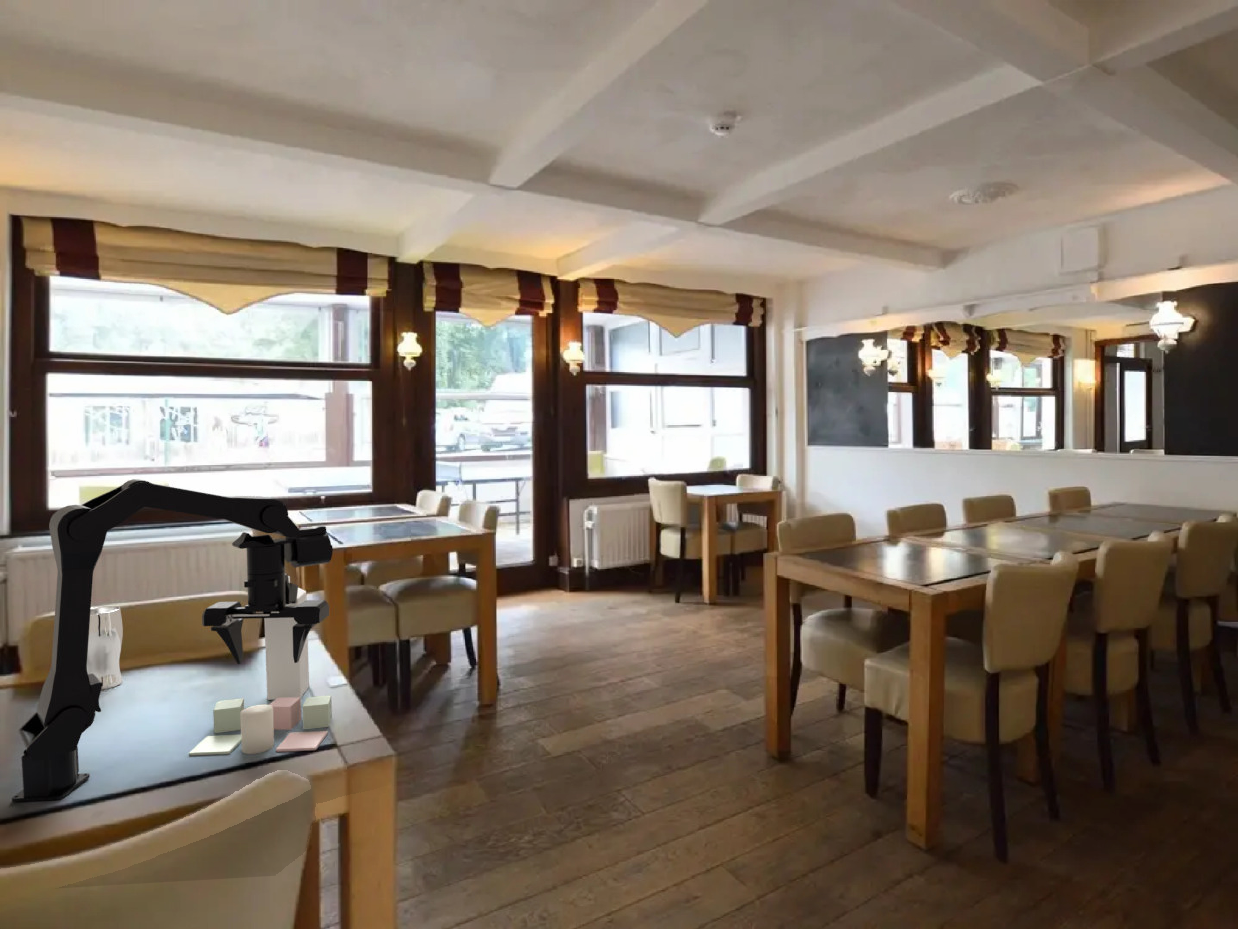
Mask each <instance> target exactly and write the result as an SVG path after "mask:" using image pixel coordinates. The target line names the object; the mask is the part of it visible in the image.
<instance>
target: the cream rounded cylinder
mask: <svg viewBox="0 0 1238 929" xmlns="http://www.w3.org/2000/svg"><path fill="white" fill-rule="evenodd" d="M240 718H241V730H240V735H241V742H240V743H241V752H242V753H243V754H246V755H247V754H248V755H256V754H261V753H264V752H267V751H269V750H271V749H272V748H273V747H274V746H275V730H274V726H273V707H272V706H271V705H269V704H257V705H252V706H248V707H246V708H245V707H244V710H242V711H241V712H240Z"/></svg>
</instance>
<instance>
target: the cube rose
mask: <svg viewBox="0 0 1238 929" xmlns="http://www.w3.org/2000/svg"><path fill="white" fill-rule="evenodd" d="M268 705H271V706H272V707H273V726H274V731H276V730H278V731H279V730H292V729H293V728H294V727H295V726H296V725H297V724H299V723H300V722H301V721H303V717H302V697H286V698H277V699H275V700H273V701H272V702H270V703H269V704H268Z"/></svg>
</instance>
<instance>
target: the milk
mask: <svg viewBox="0 0 1238 929" xmlns="http://www.w3.org/2000/svg"><path fill="white" fill-rule="evenodd" d="M288 581H289V583H291V577H290V575H288ZM305 600H307V591H306V590H304V589H303V588H300V587H298V593H297V602H296V603H293V604H286V606H298V605H299V604H300V603H302V602H303V601H305ZM271 613H279V612H271ZM263 619H264V621H263V622H264V644H265V646H264V647H265V649H264V650H265V671H266V677H265V678H266V693H267V694H266V696H267V697H266V698H267V700H268V701H270V700H271V701H272V700H273V701H274V700H275V699H277V698H286V697H301V698H302V697H303V696H304V694H305V692H306V691H307V690H308V688H309V687H310V669H309V668H310V666H309V663H310V662H309V639H308V638H309V637H308V636H309V635H308V636H307V638H306V641H305V644H304V647H303V650H302V653H301V656H300V659H299V661H298V662H297V663H294V658H293V626H294V625H295V624H297V622H296V621H295V620H294V618H263Z"/></svg>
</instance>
